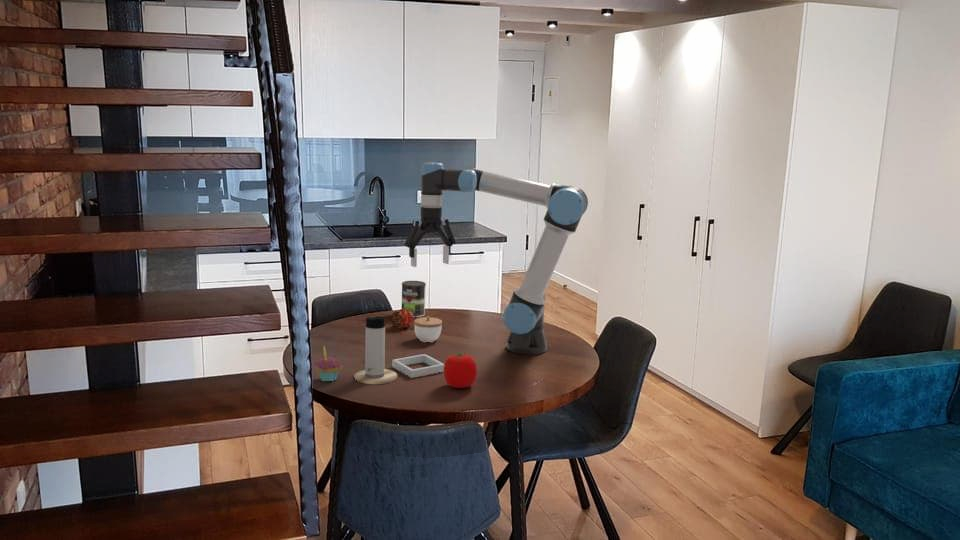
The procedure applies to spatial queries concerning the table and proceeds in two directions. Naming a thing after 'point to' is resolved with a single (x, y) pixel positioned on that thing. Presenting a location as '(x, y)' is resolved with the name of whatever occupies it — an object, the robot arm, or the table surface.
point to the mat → (387, 378)
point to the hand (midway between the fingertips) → (429, 264)
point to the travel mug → (375, 347)
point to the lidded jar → (427, 328)
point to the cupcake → (328, 367)
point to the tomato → (460, 370)
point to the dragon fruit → (402, 318)
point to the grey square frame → (433, 368)
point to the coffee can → (414, 297)
